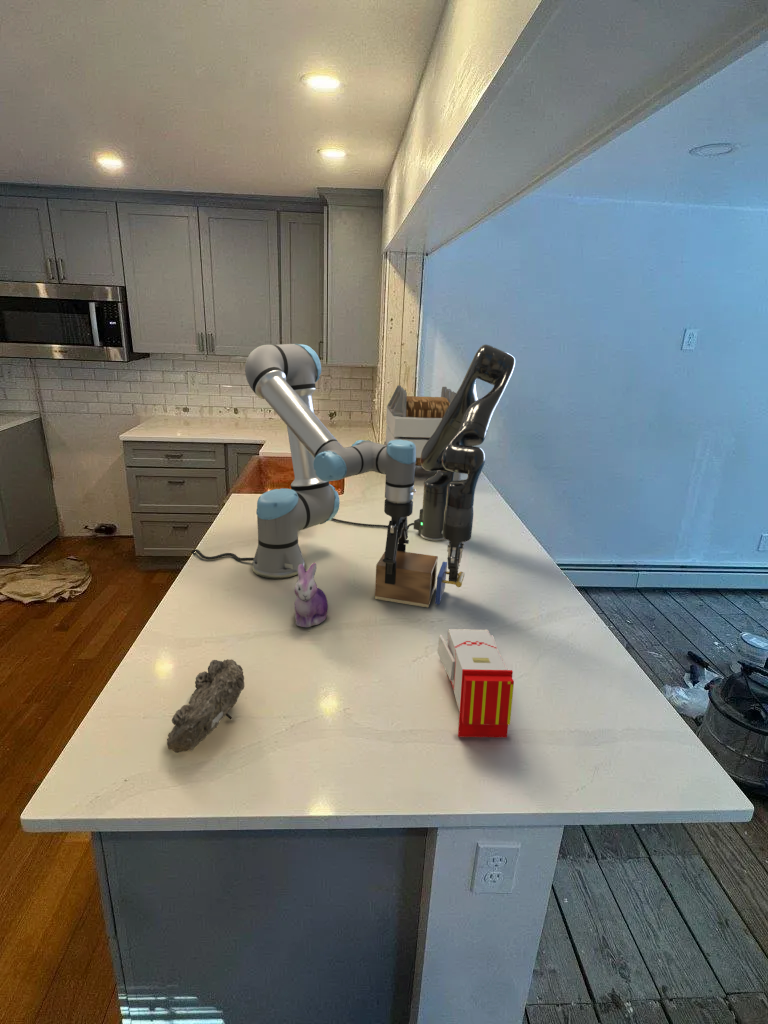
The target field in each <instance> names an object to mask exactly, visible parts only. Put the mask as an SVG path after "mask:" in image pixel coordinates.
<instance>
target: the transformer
mask: <svg viewBox="0 0 768 1024" xmlns="http://www.w3.org/2000/svg"><path fill="white" fill-rule="evenodd" d="M440 393H441V394H440V396H415V395H414V396H413V395H412V396H411V395H407V394H408V393H407V390H406V389H404V388H403V387H402V385H399V384H398V385H397V386H396V388H395V390H394V392H393V394H392V395H391V398H390V400H389V402H388V404H387V405H386V413H385V414H386V415H385V423H386V428H385V438H384V442H383V445H386V446H387V444H388V442H389V441H392V440H407V441H411V442H413V443H414V444H415V446H416V464H415V467H417V466H418V467H422V466H421V462H420V457H421V452H422V449H423V447H424V446H425V444H426V443H427V441H428V440H429V439H430V437H431V436H432V435H433V433H434V432H435V430H436V429H437V427H438V425H439V423H440V422H441V420H442V418H443V416H444V414H445V412H446V410H447V408H448V406H449V405H450V403H451V401H452V400H453V398H454V396H455V395H456V393H457V392H455V391H453V390H452V389H451V388H447V386H442V387H441V392H440ZM461 474H462V473H457V472H454V478H453V481H456V480H461Z"/></svg>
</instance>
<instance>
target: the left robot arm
mask: <svg viewBox="0 0 768 1024" xmlns="http://www.w3.org/2000/svg"><path fill="white" fill-rule="evenodd" d="M321 363H322V362H321V360H320V356H318V353H317V352H316V351H315V350H314V349H312V347H311V346H309V345H307V344H302V343H284V344H283V343H282V344H262V345H259V346H257V347H256V348H254V349H253V350H252V351H250V353H249V354H248V356H247V359H246V361H245V364H244V366H245V367H244V374H245V378H246V381H247V384H248V385H249V387H250V389H251V391H252V392H253V393H254V394H255V396H256V397H257V398H259V399H261V400H264V401H266V402H267V404H268V405H269V406H270V408H272V410H273V411H274V412H275V413H276V414H277V416H278V417H279V418H280V420H282V422H283V423H284V424H285V425H286V429H287V437H288V442H289V443H288V444H289V449H290V455H291V463H292V468H293V476H294V479H293V481H292V482H291V484H290V488H285V487H284V488H283V487H282V488H273V489H270V490H267V491H265V492H263V493H262V494H261V495H260V496H259V497H258V498H257V501H256V511H255V513H256V519H257V521H256V523H257V548H256V550H255V554H254V556H253V557H239V556H237V554H236V553H232V552H224V553H220V554H216V555H214V556H206V555H205V554H203V553H202V552H201V550H199V549H197V548H195V549H193V550H191V552H190V554H195V553H196V554H197V555H198V556H199V557H201V559H203V560H208V561H213V560H217V559H220V558H224V557H232V558H234V559H235V560H236V561H239V562H252V571H253V573H254V574H255V575H257V576H260V577H262V578H266V579H274V580H275V579H276V580H279V579H287V578H293V577H294V576H298V566H299V564H303V566H304V567H305V558H304V556H303V553H302V550H301V547H300V544H299V532H300V531H302V530H306V529H309V528H311V527H315V526H318V525H323V524H325V523H327V522H330V521H332V520H331V519H333V518H334V519H335V517H336V515H337V514H338V513H339V509H340V502H341V501H340V496H339V492H338V490H336V488H335V486H333V485H332V484H330V482H334V481H341V480H343V479H346V478H349V477H353V476H357V475H362V474H365V473H369V472H374V473H379V474H382V475H385V484H384V498H385V499H384V504H383V505H384V508H383V511H384V514H385V515H386V516H389V517H390V518H391V519H390V520H389V521H388V524H387V527H386V528H387V529H386V530H387V532H386V540H385V548H384V552H385V556H384V559H383V562H384V563H386V566H385V583H386V584H392V585H395V577H396V554H397V551H403V552H406V548H407V545H409V543H410V539H408V538H409V536H408V535H409V533H408V531H409V530H407V526H408V517H411V516H412V515H413V510H414V508H413V507H414V501H413V499H414V493H416V492H417V490H416V488H414V487H415V472H416V466H415V464H416V446H415V444H414V443H413V442H411V441H407V440H392V441H389V442H388V444H387V446H386V445H384V444H382V443H378V442H374V441H372V440H369V439H368V440H365V439H359V440H358V439H357V440H356V441H355V442H354V443H352V444H351V446H346V447H344V446H343V444H341V443H340V441H339V440H338V439H337V438H336V437H335V435H333V434H332V432H331V431H330V430H329V429H328V428H327V426H326V425H325V424H324V423H323V422H322V421H321V419H319V417H318V416H317V415H316V414H315V410H314V403H313V394H314V392H316V390H317V388H316V383H317V382H318V381H319V380H320V378H321V375H322V364H321ZM195 551H196V552H195ZM194 552H195V553H194Z"/></svg>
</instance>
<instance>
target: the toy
mask: <svg viewBox="0 0 768 1024" xmlns="http://www.w3.org/2000/svg"><path fill="white" fill-rule="evenodd" d="M446 640H447V643H446V641H445V639H444V636H443V635H442V634H439V637H438V646H437V656H438V657H439V659H440V661H441V663H442V666H443V668H444V670H445V672H446V674H447V677H448V679H449V681H450V684H451V687H452V690H453V693H454V697H455V701H456V705H457V708H458V711H459V714H458V715H459V716H458V730H457V731H458V732H457V737H458V738H508V731H509V726H510V725H511V717H512V707H513V697H514V696H513V695H514V684H515V680H514V679H513V673H514V671H513V670H512V669H508V667H507V665H506V662H505V661H504V659H503V658H502V655H501V653H500V651H499V649H498V647H497V643H496V639H495V637H494V635H493V634H491V632H490V631H489V629H467V628H466V629H465V628H463V629H461V628H460V629H459V628H448V630H447V639H446Z"/></svg>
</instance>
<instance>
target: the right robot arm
mask: <svg viewBox="0 0 768 1024" xmlns="http://www.w3.org/2000/svg"><path fill="white" fill-rule="evenodd" d="M515 366H516V358H515V357H514V356H513V355H512V354H510V353H508V352H506V351H504V350H502V349H499V348H497V347H495V346H492V345H490V344H486V343H485V344H482V345H481V346H480V347H479V348H478V349H477V351H476V353H475V354H474V356H473V357H472V360H471V362H470V364H469V367H468V369H467V371H466V373H465V375H464V378H463V380H462V382H461V384H460V386H459V388H458V389H457V391H456V392H455V393H456V395H455V396H454V398H453V400H452V401H451V403H450V405H449V406H448V408H447V410H446V412H445V414H444V416H443V418H442V420H441V422H440V423H439V425H438V427H437V429H436V430H435V432H434V433H433V435H432V436H431V437H430V439H429V440H428V441H427V443H426V444H425V446H424V447H423V449H422V452H421V457H420V462H421V466H420V467H422V468H423V470H424V471H427V472H435V474H433V475H432V476H430V477H428V478H427V479H425V480H424V482H423V493H422V496H423V497H422V506H421V508H420V509H419V516H418V518H416V519H415V520H413V522H411V523H409V524H407V531H409V529H410V527H411V526H413V530H416V531H417V535H418V536H420V538H421V539H424V540H426V541H432V542H440V541H444V540H446V541H449V542H448V545H447V550H446V551H447V559H446V560H447V570H448V572H449V574H448V581H453V582H456V581H457V578H458V573H459V569H460V563H461V562H462V558H463V551H464V548H465V543H466V542H469V541H470V540H471V539H472V535H473V533H472V532H473V522H474V502H475V494H476V493H475V492H476V488H477V484H478V481H479V478H480V476H481V473H482V470H483V469H484V466H485V463H486V454H485V451H484V450H483V449H482V448H481V447H478V446H480V445H482V444H484V441H485V439H486V437H487V434H488V430H489V427H490V424H491V421H492V419H493V416H494V414H495V411H496V409H497V407H498V405H499V403H500V401H501V399H502V397H503V394H504V392H505V390H506V388H507V386H508V384H509V382H510V379H511V377H512V375H513V372H514V369H515ZM477 379H478V380H480V381H483V382H484V383H487V384H490V385H492V389H491V390H489V391H488V392H487V393H486V394H484V395H483V396H481V397H480V398H478V393H477ZM454 472H457V473H461V474H464V475H467V477H466V479H460V480H456V481H453V478H454ZM330 521H335V522H339V523H342V524H349V525H354V526H361V527H362V526H364V527H376V528H387V526H388V524H372V523H361V522H353V521H347V520H342V519H338V518H335V517H334V518H333V519H331V520H330Z"/></svg>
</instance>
